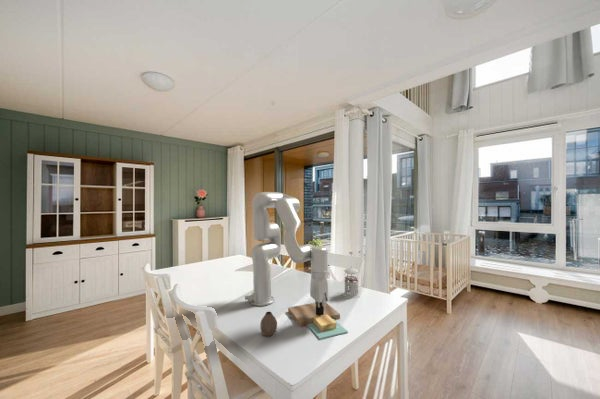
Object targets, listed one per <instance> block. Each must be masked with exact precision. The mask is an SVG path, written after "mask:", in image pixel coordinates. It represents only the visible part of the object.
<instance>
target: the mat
mask: <svg viewBox="0 0 600 399" xmlns="http://www.w3.org/2000/svg"><path fill="white" fill-rule="evenodd" d="M333 320H334V321H335V322H336V329H332V330H328V331H323V332H321V331H320V330H319V328H318V327H317V326H316V325H315V324H314V323H310V324H308V325H307V327H308V328H309V330H311V331H312V332H313V334H314V335H315V336H316V337H317V338H318V340H319V341H321V340H323V339H329V338H331V337H336V336H340V335H344V334H348V333H349V332H348V330H347V329H346V328H345V327H344V326H342V325H341V324H340V322H338V321H337V319H333Z"/></svg>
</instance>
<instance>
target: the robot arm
mask: <svg viewBox="0 0 600 399" xmlns="http://www.w3.org/2000/svg"><path fill="white" fill-rule="evenodd" d="M251 208H252V213H253V237H254V240H256V241H257V242H260V243H257V244H255V245H254V246H252V248H251V251H250V253H251V254H250V255H251V260H252V267H253V268H252V270H253V273H252V274H253V278H252V279H253V292H252V293H251V294H250V295H244V300H246V301H248V302H249V301H250V303H251V305H253V306H256V307H266V306H269V305H271V304H273V303H274V301H275V297H274V296H272V268H271V265H270V263H269V260H272V259H276V258H278V257H279V256H280V255H281V249H282V248H281V247H282V237H281V228H280V226H279V224H277V223H276V222H273V221H272V222H270V213H269V211H268V209H272V208H273V209H274V208H275V210H276V212H277V215H278V216H279V219H280V221H281V223H282V226H283V227H284V230H285V231H284V236H283V237H284V241H283V242H284V246H285V249H286V252H287V254H288V256H289V258H290V260H291V261H292V262H293V263H295V264H298V265H299V264H302V263H305V262H309V261H310V288H309V295H310V296H309V297H311V298H312V299H313V300H314V301H315V302H314V303H315V305H317V306H316V315H317V316H320V315H324V306H326V303H327V302H328V301H329V284H328V278H329V276H328V275H329V270H328V269H329V268H328V267H329V266H328V257H329V256H328V248H327V247H325V246H319V245H318V246H317V245H314V244H312V243H306V244H303V245H299V243H298V241H297V237H296V234H297V230H298V229H299V228H300V227H301V225H302V221H301V220H300V218H299V216H298V213H299V211H300V210H301V203H300V201H299V199H297V198H296V197H294V196H292V195H288V194H286V193H282V192H279V191H278V192H277V191H263V192H258V193H257V194H255V196H254V197H253V199H252V202H251ZM263 241H264V242H263ZM265 241H266V242H265Z"/></svg>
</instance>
